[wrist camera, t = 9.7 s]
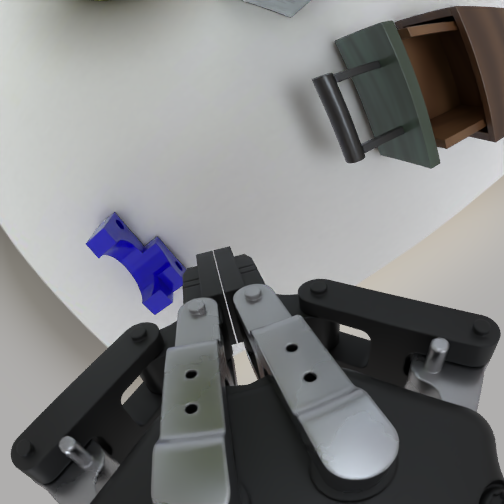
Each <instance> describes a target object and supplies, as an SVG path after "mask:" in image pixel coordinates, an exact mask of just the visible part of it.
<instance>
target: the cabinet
mask: <svg viewBox="0 0 504 504" xmlns="http://www.w3.org/2000/svg"><path fill="white" fill-rule="evenodd" d="M452 21H456V24H457V26H458V28H459V31H460V33H461V36H462V39H463V41H464V44H465V47H466V49H467V52H468V55H469V58H470V61H471V64H472V68H473V71H474V74H475V77H476V81H477V85H478V88H479V92H480V96H481V100H482V104H483V109H484V113H485V118H486V123H487V126H486V127H484V128H482V129H481V130H479V131H477V132H475V133H474V134H472V135H470V136H469V137H474V138H478V139H483V140H487V141H492V142H497V141H499V140H500V139H502V138H503V137H504V8H496V7H479V6H454V7H450V8H445V9H440V10H436V11H432V12H428V13H424V14H420V15H417V16H413V17H410V18H406V19H403V20H400V21H397V22H395V24H396V26H397V28H398V30H399V29H403V28H406V27H412V26H419V25H426V24H433V23H442V22H452Z"/></svg>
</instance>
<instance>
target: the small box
mask: <svg viewBox="0 0 504 504" xmlns="http://www.w3.org/2000/svg"><path fill="white" fill-rule="evenodd" d="M242 1H245V2H249V3H252V4H255V5H258V6H261V7H264V8H266V9H269V10H272V11H275V12H277V13H280V14H283V15H285V16H288V17H292V16H293V15H295V14H296V13H297V12H298V11H299V10H300V9H301V8H303V7H304V6H305V5H306V4H307V3H309V2H310V1H311V0H242Z"/></svg>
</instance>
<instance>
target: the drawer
mask: <svg viewBox="0 0 504 504" xmlns="http://www.w3.org/2000/svg"><path fill="white" fill-rule="evenodd" d="M335 43H336V45H337V47H338V49H339V51H340V53H341V55H342V58H343V60H344V62H345V64H346V66H347V69H348V70H345V71H342V72H339V73H336V74H332V73H328V74H325V75H322V76H319V77H316V78H314V79H312V81H313V83H314V86H315V88H316V90H317V92H318V94H319V97H320V99H321V101H322V103H323V106H324V108H325V110H326V112H327V115H328V117H329V120H330V122H331V124H332V127H333V129H334V132H335V134H336V137H337V139H338V142H339V144H340V147H341V149H342V152H343V155H344V157H345V160H346V162H347V163H355V162H359V161H361V160H362V159H364V158H365V154H364V153H366V152H368V151H370V150H372V149H374V148H376V147H378V149H379V152H380V155H383V156H387V157H391V158H395V159H399V160H402V161H406V162H410V163H413V164H417V165H420V166H424V167H427V168H433V167H435V166H436V165H438V164H440V159H439V155H438V150H437V147H441V148H445V149H447V148H449V147H451V146H453V145H454V144H456V143H458V142H460V141H461V140H463V139H465V138H467V137H468V136H470V135H472V134H474V133H475V132H477V131H479V130H481V129H482V128H484V127H486V126H487V123H486V118H485V113H484V109H483V104H482V100H481V96H480V92H479V88H478V85H477V81H476V77H475V74H474V71H473V68H472V64H471V61H470V58H469V55H468V52H467V49H466V47H465V44H464V41H463V39H462V36H461V33H460V31H459V28H458V26H457V24H456V21H452V22H442V23H433V24H426V25H419V26H412V27H406V28H403V29H399V30H397V29H396V27H395V25H394V22H393V21H386V22H381V23H378V24H375V25H373V26H370V27H367V28H365V29H362V30H360V31H357V32H355V33H352V34H350V35H347V36H345V37H343V38H340V39H338V40H336V41H335ZM348 78H352V80H353V82H354V85H355V87H356V89H357V92H358V94H359V97H360V99H361V102H362V104H363V107H364V109H365V112H366V115H367V117H368V120H369V123H370V126H371V128H372V131H373V134H374V138H372V139H370V140H368V141H366V142H364V143H362V144H361V142H360V140H359V137H358V134H357V131H356V129H355V126H354V124H353V121H352V118H351V116H350V113H349V111H348V108H347V106H346V104H345V101H344V99H343V96H342V94H341V92H340V89H339V87H338V85H337V82H340V81H342V80H345V79H348Z"/></svg>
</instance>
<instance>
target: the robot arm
mask: <svg viewBox="0 0 504 504" xmlns="http://www.w3.org/2000/svg"><path fill="white" fill-rule="evenodd" d="M214 254H215V258H216V262H217V266H218V270H219V274H220V278H221V282H222V286H223V289H224V293H225V297H226V301H227V304H228V308H229V312H230V315H231V319H232V323H233V326H234V330H235V333H236V337H237V340H238V343H240V342H244V345H245V348H246V352H247V356H248V359H249V361H250V363H251V366H252V368H253V370H254V372H255V374H256V377H257V379H258V380H257V381H255V382H253V383H251V384H248V385H239V386H238V385H237V378H236V372H235V365H234V359H233V356H232V354H233V350H232V346H231V345H233V344H237V343H236V340H235V336H234V333H233V329H232V325H231V321H230V318H229V314H228V310H227V306H226V303H225V299H224V295H223V291H222V287H221V283H220V280H219V276H218V272H217V268H216V264H215V260H214V256H213V252H212V251H209V252H205V253H201V254H197V255H196V258H197V266H195V267H191V268H187V269H186V271H185V272H184V274H183V275H182V276H183V303H184V305H183V306H182V307H181V308H180V309H179V311H178V318H177V321H176V322H174V323H173V324H171V325H169V326H167V327H165V328H163V329H161V330H159V328H158V327H157V325H155V324H153V323H148V322H146V323H140V324H137V325H134V326H132V327H131V328H129V329H128V330H127V331H126V332H124V333H123V334H122V335H121V336H120V337H119V338H118V339H117V340H116V341H115V342H114V343H113V344H112V345H111V346H110V347H109V348H108V349H107V350H106V351H105V352H104V353H102V354H101V355H100V356H99V357H98V358H97V359H96V360H95V361H94V362H93V363H92V364H91V365H90V366H89V367H88V368H87V369H86V370H85V371H84V372H83V373H82V374H81V375H80V376H79V377H78V378H77V379H76V380H75V381H74V382H72V383H71V384H70V385H69V387H68V388H66V389H65V390H64V392H62V393H61V394H60V395H59V396H58V397H57V398H56V399H55V400H54V401H53V402H52V403H51V404H50V405H49V406H48V407H47V409H45V410H44V412H42V413H41V414H40V415H39V417H37V418H36V419H35V420H34V421H33V422H32V424H31V425H30V426H29V427H28V428H27V429H26V430H25V431H24V432H23V433H22V434H21V435H20V436H19V437H18V438H17V439H16V441H15V442H14V444H13V446H12V449H11V459H12V462H13V463H14V465H15V466H16V467H17V468H18V469H20V470H21V471H22V472H23V473H25V474H26V475H27V476H29V477H30V478H31V479H32V480H33V481H34V482H35V483H37V484H38V485H40V486H41V487H43V488H44V489H46V490H47V491H48V492H49V493H50V494H51V495H52V496H53V498H54V499H55V500H56V501H57V502H58V503H59V504H504V478H503V475H502V473H501V470H500V466H499V463H498V457H497V452H496V443H495V437H494V434H493V431H492V429H491V427H490V425H489V424H488V423H487V421H486V420H485V419H484V418H483V417H482V416H481V415H480V414H478V413H477V408H478V403H479V398H480V393H481V387H482V383H483V377H484V371H485V369H486V367H487V365H488V363H489V361H490V359H491V357H492V355H493V353H494V350H495V348H496V346H497V343H498V341H499V338H500V329H499V327H498V325H497V324H496V323H495V322H494V321H493V320H492V319H490V318H488V317H486V316H483V315H479V314H474V313H469V312H465V311H460V310H456V309H452V308H447V307H443V306H438V305H434V304H430V303H425V302H421V301H417V300H412V299H408V298H404V297H399V296H395V295H391V294H386V293H382V292H378V291H373V290H369V289H365V288H361V287H357V286H352V285H348V284H344V283H340V282H335V281H331V280H327V279H315V280H310V281H308V282H305V283H304V284H302V285H301V286H300V288H299V289H298V294H295V295H279V294H276V293H275V292H274V291H273V289H272V288H271V287H269V286H267V285H265V283H264V281H263V279H262V277H261V275H260V273H259V271H258V270H257V267H256V265H255V264H254V262H253V260H252V258H251V257H249V256H247V255H245V254H243V255H239V256H235V257H234V256H233V253H232V251H231V248H230V246H229V247H225V248H221V249H217V250H214ZM339 324H342V325H345V326H349V327H352V328H355V329H359V330H362V331H364V332H366V333H367V334H368V335H369V337H370V339H371V341H370V340H367V339H363V338H360V337H356V336H353V335H350V334H346V333H343V332H340V331H339V326H340V325H339ZM139 375H140V377H141V378H142V380H143V381H144V382H143V383H142V384H141V385H140V386H139V387H138V389H137V390H136V391H135V392H134V393H133V394H132V395H131V396H130V397H129V398H128V400H127V401H126V402H125V403H124V404H123V405H122V404H121V396H122V394H123V393H124V391H125V390H126V389H127V388H128V387H129V386H130V385H131V384H132V382H134V380H135V379H136V378H137V377H138V376H139Z"/></svg>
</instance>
